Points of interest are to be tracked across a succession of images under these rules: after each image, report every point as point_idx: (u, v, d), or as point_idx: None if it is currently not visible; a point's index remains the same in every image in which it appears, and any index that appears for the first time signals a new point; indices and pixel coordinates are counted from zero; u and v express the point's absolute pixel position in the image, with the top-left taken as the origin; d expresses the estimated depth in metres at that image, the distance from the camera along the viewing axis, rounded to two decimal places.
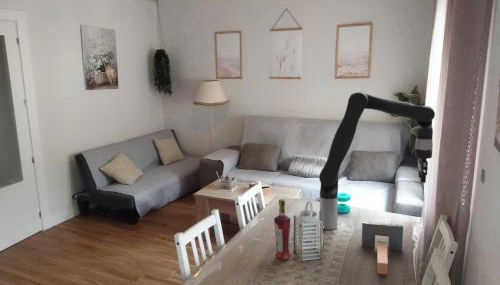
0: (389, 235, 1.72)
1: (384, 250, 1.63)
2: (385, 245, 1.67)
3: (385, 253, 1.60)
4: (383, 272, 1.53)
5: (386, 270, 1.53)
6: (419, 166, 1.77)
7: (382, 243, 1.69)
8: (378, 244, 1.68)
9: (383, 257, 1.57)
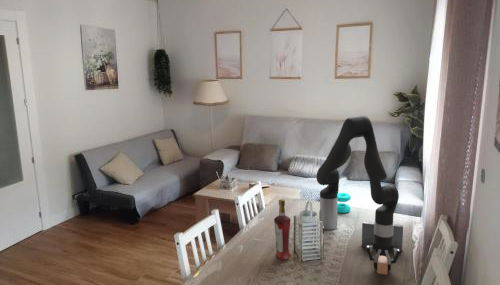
0: None
1: None
2: None
3: None
4: (383, 272, 1.53)
5: (385, 270, 1.53)
6: (387, 255, 1.52)
7: None
8: None
9: (383, 257, 1.57)
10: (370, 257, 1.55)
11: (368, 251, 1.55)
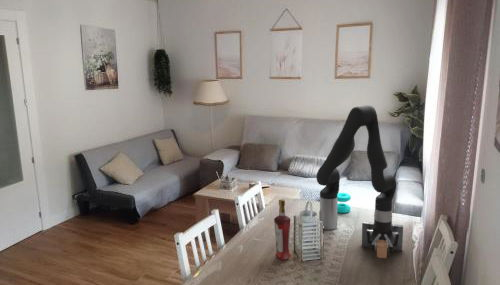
0: None
1: None
2: None
3: None
4: (382, 256, 1.66)
5: (385, 254, 1.65)
6: (387, 239, 1.65)
7: None
8: None
9: (382, 242, 1.70)
10: (368, 240, 1.68)
11: (368, 234, 1.68)
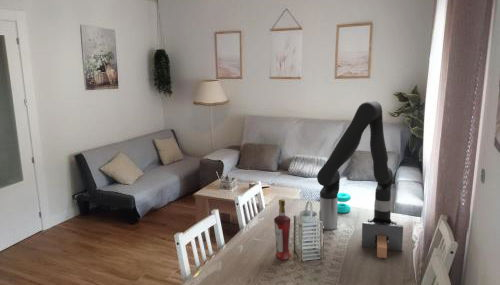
0: (389, 235, 1.72)
1: (383, 236, 1.75)
2: None
3: (384, 239, 1.73)
4: (382, 256, 1.66)
5: (385, 254, 1.65)
6: None
7: None
8: None
9: (382, 242, 1.70)
10: None
11: None
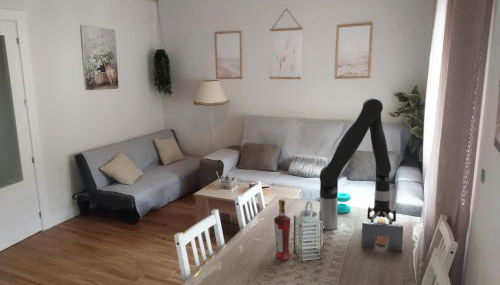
0: (389, 235, 1.72)
1: None
2: (384, 221, 1.92)
3: None
4: (382, 243, 1.78)
5: (384, 241, 1.77)
6: (386, 215, 1.90)
7: (381, 220, 1.94)
8: (378, 220, 1.93)
9: None
10: (368, 216, 1.93)
11: (368, 211, 1.93)
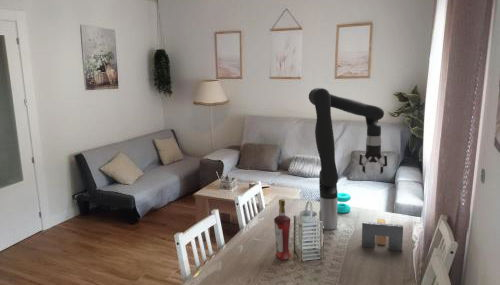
0: (389, 235, 1.72)
1: None
2: (384, 221, 1.92)
3: None
4: (382, 243, 1.78)
5: (384, 241, 1.77)
6: (377, 160, 1.95)
7: (381, 220, 1.94)
8: (378, 220, 1.93)
9: None
10: (360, 162, 1.99)
11: (360, 157, 1.98)
